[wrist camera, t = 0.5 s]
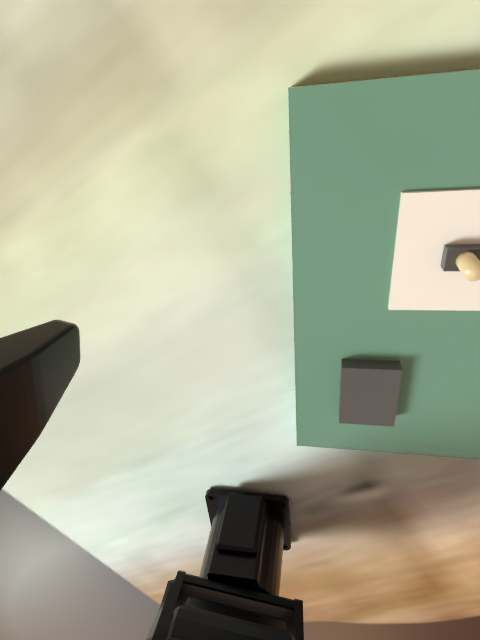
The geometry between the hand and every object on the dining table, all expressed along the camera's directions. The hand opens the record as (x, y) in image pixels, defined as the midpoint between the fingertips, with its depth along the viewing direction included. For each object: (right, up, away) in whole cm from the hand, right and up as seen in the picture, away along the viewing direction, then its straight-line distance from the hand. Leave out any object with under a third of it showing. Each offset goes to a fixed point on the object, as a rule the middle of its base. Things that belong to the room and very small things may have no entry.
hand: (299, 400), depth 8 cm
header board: (+9, +3, +13) cm, 16 cm away
